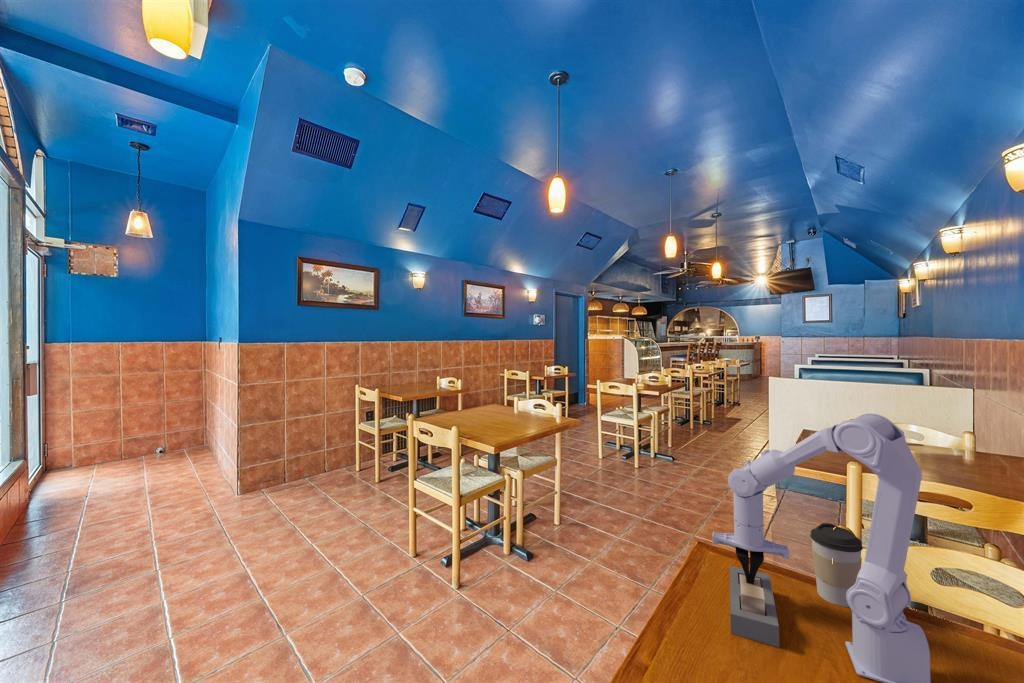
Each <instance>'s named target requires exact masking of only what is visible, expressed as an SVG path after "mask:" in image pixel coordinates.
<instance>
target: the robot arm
mask: <svg viewBox="0 0 1024 683" xmlns="http://www.w3.org/2000/svg"><path fill="white" fill-rule="evenodd" d="M826 451H828V452H832V453H837V454H838V453H841V452H844V453H846V454H847V455H849V456H850V457H852V458H854V459H855V460H857V461H858V462H860V463H862V464H863V465H865V466H867V467H868V469H870V470H871V472H872V473H874V474H875V475H876V476H877V478H878V480H877V481H878V482H877V487H876V492H875V496H874V497H875V498H874V502H873V503H874V504H873V509H872V510H873V511H872V515H871V520H870V525H869V531H868V532H869V533H868V537H867V543H866V549H865V555H864V560H863V563H862V564H861V569H860V571H859V573H858V575H857V579H856V583H855V584H854V585H853V586H852V587H850V588H849V589H848V591H847V594H846V599H847V602H848V605H849V607H848V608H850V610H851V627H852V628H851V629H852V631H851V632H852V633H851V634H852V636H851V638H852V642H850V641H844V642H845V643H844V644H845V648H846V649H847V652H848V655H849V657H850V660H851V663H852V665H853V668H854V670H855V673H856V674H857V675H858V676H860V677H863V678H867V679H871V680H874V681H877V682H880V683H931V654H930V653H931V652H930V648H929V647H930V646H929V643H928V639H927V637H926V634H925V631H924V630H923V629H922V627H921V626H920V625H919V624H916V623H913V622H911V621H908V620H907V618H906V615H905V614H904V613H905V612H904V609H905V608H907V607H908V606H909V605H910V603H911V601H912V595H911V592H910V589H909V587H908V585H907V579H908V574H907V572H906V571H905V567H906V561H907V557H908V550H909V546H910V542H911V535H912V530H913V525H914V521H915V519H914V518H915V513H916V509H917V504H918V498H919V494H920V488H921V482H922V478H923V475H922V474H923V473H922V469H921V466H919V463H918V462H917V460H916V458H915V457H914V453H913V452H912V450H911V449H910V447H909V445H908V444H907V441H906V437H905V433H904V431H903V430H902V429H901V428H899V427H898V426H897V425H896V424H895V423H893V422H892V421H891V420H890V419H889V418H887V417H885V416H883V415H880V414H877V413H864V414H861V415H858V416H857V417H855V418H853V419H847V420H842V421H841V422H839V423H838V424H837V423H836V424H834V425H832V426H828V427H825V428H822V429H820V430H817V431H816V432H814V433H813V434H811V435H809V436H808V437H806V438H804V439H801V441H800V442H797V443H796V444H794V445H792V446H791V447H789V448H787V449H786V450H784V451H782V450H778V449H771V450H769V449H766V450H763V451H762V452H760V455H761V456H759V457H758V458H755V459H754V460H752V461H751V460H747V461H745V462H744V466H743V467H741V468H734V469H733V470H732V471H731V472H730V473H729V474H728V477H727V484H728V486H729V488H730V490H731V491H732V492H733V529H734V530H733V533H732V532H731V533H727V532H726V533H725V532H717V531H716V532H715V531H713V532H712V545H715V546H716V545H718V546H719V545H724V546H729V547H733V548H735V554H736V557H737V559H738V561H739V563H740V565H741V568H742V569H743V570H744V573H745V577H746V583H749V584H754V579H755V576H756V573H757V572H759V571H758V570H759V569H760V567H761V566H762V565H763V562H764V561H765V555H764V554H769V555H773V556H779V557H782V558H783V559H786V560H789V559H790V550H789V547H788V545H785V544H784V545H783V544H780V543H777V542H773V541H770V540H767V539H765V529H764V527H765V526H764V522H765V521H764V520H765V519H764V492H765V491H766V490H767V489H768V488H770V487H772V486H774V485H775V484H778V483H780V482H782V481H784V480H786V479H788V478H790V477H792V476H794V475H795V471H796V470H795V469H796V465H798V464H801V463H803V462H805V461H807V460H809V459H811V458H814V457H815V456H818V455H820V454H822V453H825V452H826ZM749 570H750V573H749Z"/></svg>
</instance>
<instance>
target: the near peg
mask: <svg viewBox="0 0 1024 683" xmlns="http://www.w3.org/2000/svg"><path fill="white" fill-rule="evenodd" d="M741 609H742V610H745V611H749V612H752V613H756V614H760V615H764V616H765V598H764V591H763V588H760V587H756V586H752V585H748V584H743V583H741Z"/></svg>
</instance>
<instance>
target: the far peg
mask: <svg viewBox="0 0 1024 683" xmlns="http://www.w3.org/2000/svg"><path fill="white" fill-rule="evenodd" d="M739 579H740V584H741V583H743V584H748V585H752V586H756V587H760V588H761V583H760V579H759V578H755V579H754V584H749V583H746V577H745V575H741V574H739Z"/></svg>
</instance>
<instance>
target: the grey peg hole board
mask: <svg viewBox="0 0 1024 683" xmlns="http://www.w3.org/2000/svg"><path fill="white" fill-rule="evenodd" d="M749 573H750V569H749ZM739 574H741V575H745V573H744V570H743V567H741V568H740V567H736V566H732V565H729V605H730V606H729V607H730V608H729V609H730V610H729V611H730V613H729V614H730V634H732V635H733V636H738V637H742V638H744V639H749V640H752V641H756V642H759V643H762V644H765V645H770V646H773V647H776V648H780V626H779V621H778V620H779V619H778V614H777V610H776V604H775V599H774V594H773V587H772V583H771V577H770V574H767V573H764V572H759V571H757V573H756V576H755V578H759V579H760V583H761V588H763V591H764V598H765V616H764V615H760V614H756V613H752V612H749V611H745V610H742V609H741V584H740V579H739Z"/></svg>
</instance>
